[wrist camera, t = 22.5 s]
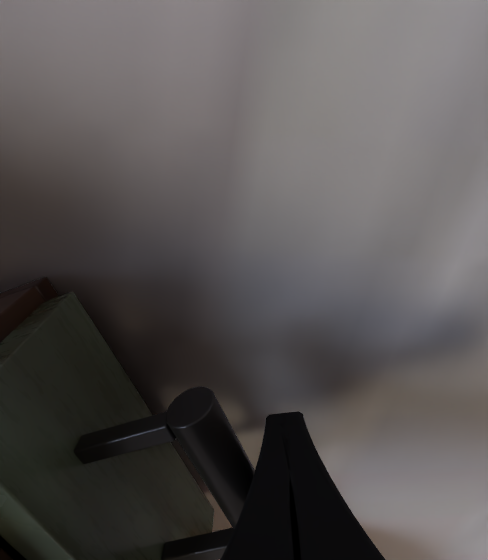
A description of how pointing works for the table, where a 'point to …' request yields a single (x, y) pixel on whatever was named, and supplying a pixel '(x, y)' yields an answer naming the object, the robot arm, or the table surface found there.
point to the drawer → (105, 453)
